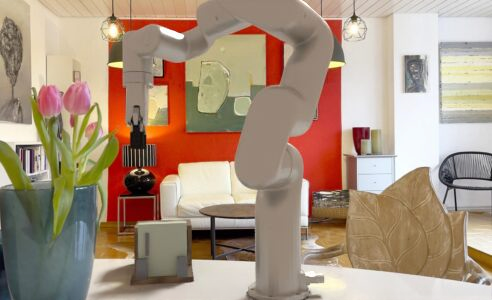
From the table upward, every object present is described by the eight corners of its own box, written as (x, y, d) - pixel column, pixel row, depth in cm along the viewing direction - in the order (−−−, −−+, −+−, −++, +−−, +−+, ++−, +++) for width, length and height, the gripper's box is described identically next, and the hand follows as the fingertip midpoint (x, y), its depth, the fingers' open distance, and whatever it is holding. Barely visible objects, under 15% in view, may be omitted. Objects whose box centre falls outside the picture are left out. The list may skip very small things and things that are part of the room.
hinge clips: (187, 269, 101) (186, 250, 101) (187, 276, 94) (187, 257, 95) (138, 272, 99) (138, 253, 99) (136, 280, 93) (136, 259, 93)
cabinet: (190, 259, 114) (190, 219, 114) (193, 281, 95) (193, 232, 95) (138, 262, 112) (137, 221, 112) (130, 284, 92) (129, 235, 92)
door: (186, 271, 99) (186, 221, 99) (187, 275, 96) (186, 223, 96) (139, 274, 97) (138, 222, 97) (138, 278, 94) (137, 225, 94)
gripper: (126, 86, 113) (127, 149, 113) (118, 74, 96) (118, 148, 96) (154, 87, 114) (155, 149, 114) (151, 75, 97) (152, 148, 97)
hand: (138, 149), depth 105 cm, fingers open, 9 cm apart
